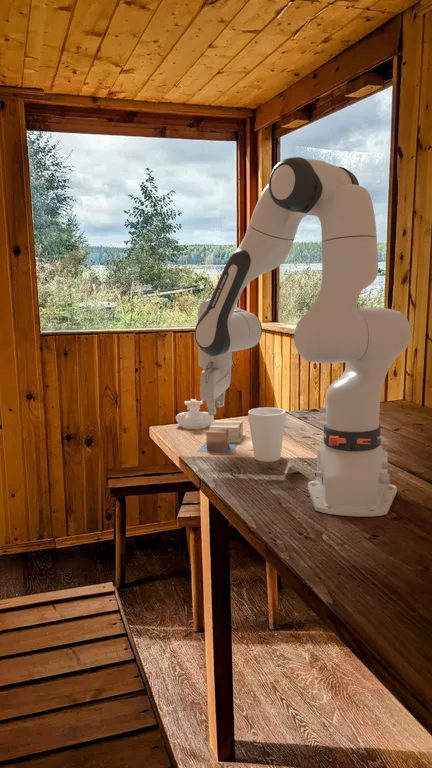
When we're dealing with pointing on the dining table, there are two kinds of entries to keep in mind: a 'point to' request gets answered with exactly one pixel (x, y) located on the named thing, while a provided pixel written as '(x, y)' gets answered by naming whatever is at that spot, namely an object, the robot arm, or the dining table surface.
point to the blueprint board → (229, 450)
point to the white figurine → (194, 416)
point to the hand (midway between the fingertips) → (216, 410)
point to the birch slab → (230, 428)
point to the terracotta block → (217, 439)
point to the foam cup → (267, 432)
